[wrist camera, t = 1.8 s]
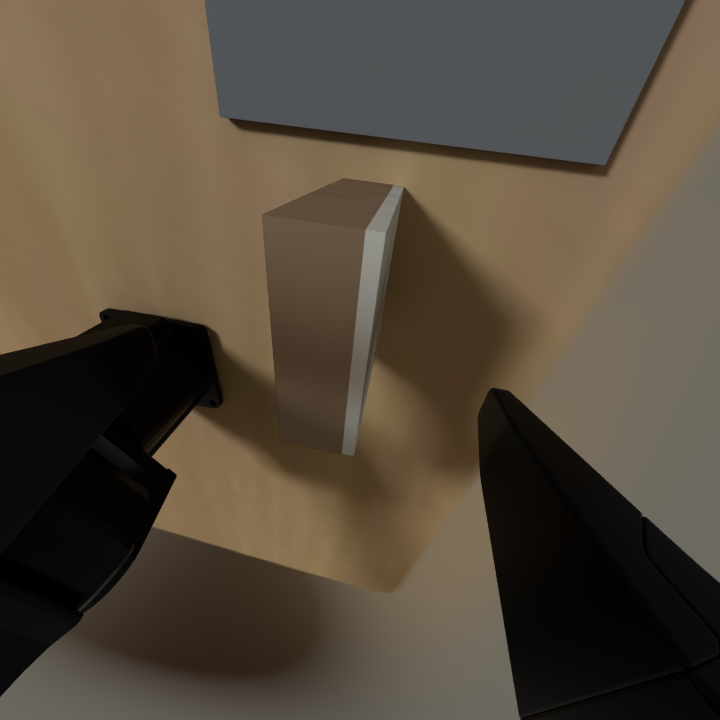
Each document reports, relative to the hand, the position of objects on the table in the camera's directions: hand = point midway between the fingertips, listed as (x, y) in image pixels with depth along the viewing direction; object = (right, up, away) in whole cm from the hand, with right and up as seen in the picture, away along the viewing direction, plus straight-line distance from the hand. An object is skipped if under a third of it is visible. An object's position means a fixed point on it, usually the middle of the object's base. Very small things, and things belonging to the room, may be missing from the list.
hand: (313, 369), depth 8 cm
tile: (+1, +5, +6) cm, 8 cm away
